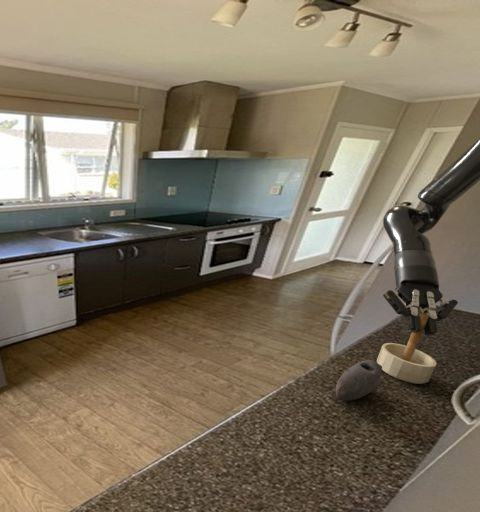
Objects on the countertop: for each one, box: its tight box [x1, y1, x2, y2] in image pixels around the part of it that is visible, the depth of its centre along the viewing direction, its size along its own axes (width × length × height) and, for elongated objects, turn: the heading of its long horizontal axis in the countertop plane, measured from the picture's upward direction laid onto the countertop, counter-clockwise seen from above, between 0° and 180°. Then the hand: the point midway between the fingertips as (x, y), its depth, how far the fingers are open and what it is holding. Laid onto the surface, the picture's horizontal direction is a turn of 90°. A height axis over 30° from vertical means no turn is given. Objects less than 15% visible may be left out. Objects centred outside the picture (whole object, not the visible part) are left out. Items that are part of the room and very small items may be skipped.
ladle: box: [401, 312, 429, 362], centre depth 73 cm, size 4×2×16 cm, turn 54°
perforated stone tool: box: [335, 359, 383, 402], centre depth 67 cm, size 15×5×7 cm, turn 114°
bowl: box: [376, 342, 438, 385], centre depth 74 cm, size 10×10×6 cm
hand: (423, 333), depth 69 cm, fingers closed
